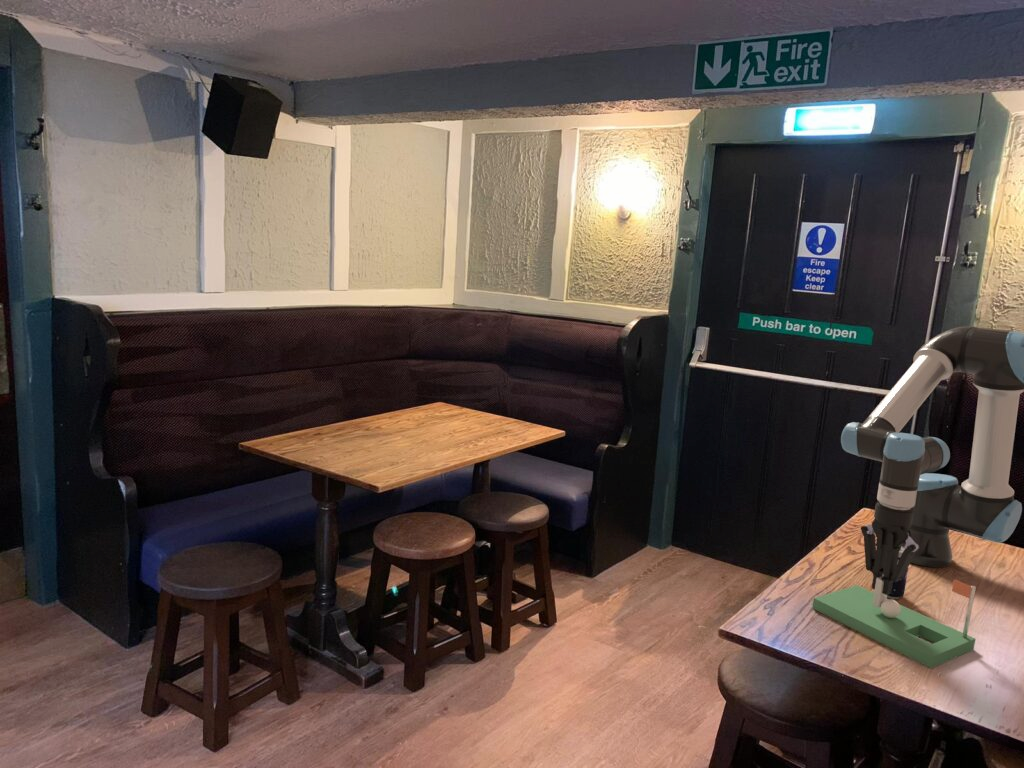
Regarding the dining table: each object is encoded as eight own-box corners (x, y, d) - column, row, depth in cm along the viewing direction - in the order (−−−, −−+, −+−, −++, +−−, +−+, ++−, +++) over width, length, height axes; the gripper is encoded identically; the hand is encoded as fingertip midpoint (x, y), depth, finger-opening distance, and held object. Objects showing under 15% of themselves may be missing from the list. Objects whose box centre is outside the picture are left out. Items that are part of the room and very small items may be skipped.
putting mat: (855, 594, 187) (856, 585, 187) (973, 649, 164) (975, 638, 163) (812, 608, 179) (813, 598, 178) (930, 668, 156) (932, 656, 155)
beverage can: (906, 602, 185) (914, 554, 183) (880, 598, 186) (888, 551, 184) (899, 591, 190) (907, 545, 188) (874, 588, 191) (882, 542, 189)
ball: (907, 605, 169) (900, 620, 171) (892, 594, 172) (885, 608, 174) (896, 608, 167) (888, 623, 169) (880, 596, 170) (873, 611, 172)
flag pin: (944, 638, 168) (955, 578, 165) (965, 648, 164) (976, 586, 162) (942, 639, 167) (953, 579, 165) (963, 649, 164) (974, 587, 161)
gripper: (857, 497, 172) (842, 596, 176) (913, 516, 161) (895, 621, 166) (878, 493, 176) (863, 590, 180) (934, 512, 165) (916, 614, 169)
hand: (878, 605), depth 173 cm, fingers closed
